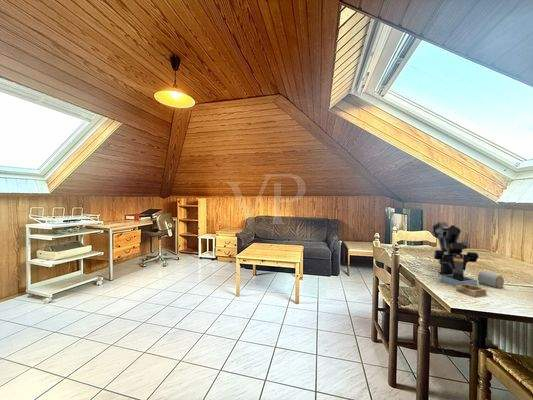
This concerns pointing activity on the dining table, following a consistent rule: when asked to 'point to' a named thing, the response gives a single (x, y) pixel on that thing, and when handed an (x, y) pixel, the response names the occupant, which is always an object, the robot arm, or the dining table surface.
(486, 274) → the grey cylinder
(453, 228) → the robot arm
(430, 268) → the dining table surface
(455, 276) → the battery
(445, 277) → the tray
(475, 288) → the brown wooden square box
